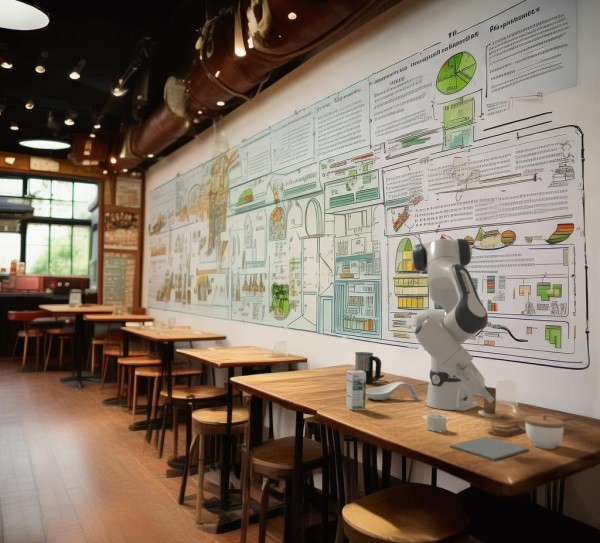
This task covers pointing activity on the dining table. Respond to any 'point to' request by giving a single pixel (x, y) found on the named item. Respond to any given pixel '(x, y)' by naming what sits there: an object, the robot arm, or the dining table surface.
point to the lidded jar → (544, 431)
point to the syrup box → (356, 390)
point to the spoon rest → (388, 391)
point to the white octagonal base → (436, 422)
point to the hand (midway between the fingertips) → (492, 399)
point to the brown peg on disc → (490, 405)
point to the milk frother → (368, 365)
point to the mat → (489, 448)
